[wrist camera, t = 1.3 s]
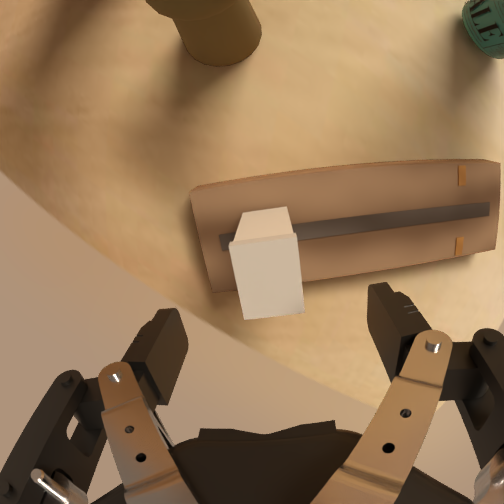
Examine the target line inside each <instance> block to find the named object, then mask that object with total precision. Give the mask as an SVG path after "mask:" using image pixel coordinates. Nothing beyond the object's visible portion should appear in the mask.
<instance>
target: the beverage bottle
mask: <svg viewBox="0 0 504 504" xmlns="http://www.w3.org/2000/svg"><path fill="white" fill-rule="evenodd" d="M465 3H466V2H465ZM462 18H463V22H464V25H465V28H466V30H467V32H468V34H469V35H470V37H471V38H472V40H473V41H474V43H475V44H476V45H477V46H478V47H479V48H480V49H481V50H482V51H483V52H484V53H485V54H487V55H489V56H490V57H493V58H496V59H503V58H504V0H470V1H468V2H467V3H466V4H465V5H464V7H463V10H462Z"/></svg>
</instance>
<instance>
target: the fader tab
mask: <svg viewBox="0 0 504 504" xmlns="http://www.w3.org/2000/svg"><path fill="white" fill-rule="evenodd" d="M229 251H230V255H231V260H232V265H233V270H234V275H235V279H236V284H237V289H238V293H239V298H240V302H241V307H242V312H243V316H244V320H248V319H258V318H267V317H275V316H284V315H292V314H300V313H305V309H304V299H303V288H302V278H301V269H300V260H299V251H298V242H297V235H296V233H293V229H292V225H291V221H290V217H289V213H288V209H287V206H286V207H279V208H272V209H265V210H258V211H251V212H244V213H243V214H242V217H241V220H240V223H239V226H238V229H237V232H236V235H235V238H234V241H233V242H230V244H229Z"/></svg>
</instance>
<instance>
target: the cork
mask: <svg viewBox="0 0 504 504" xmlns="http://www.w3.org/2000/svg"><path fill="white" fill-rule="evenodd" d="M146 2H147V3H148V4H149V5H150V6H151V7H152V8H153V9H154V10H156V11H157V12H158V13H159V14H161V15H164V16H167V17H169V18H172V19H173V21H174V23H175V25H176V27H177V29H178V32H179V34H180V36H181V38H182V40H183V42H184V44H185V47H186V49H187V51H188V53H189V54H190V55H191V56H192V57H193V58H194V59H195V60H197V61H199V62H201V63H203V64H206V65H211V66H228V65H232V64H234V63H237V62H240V61H242V60H244V59H245V58H246V57H248V56H249V55H251V54H252V53H253V51H254V50H255V49H256V47H257V46H258V45H259V42H260V39H261V36H262V32H261V24H260V22H259V20H258V18H257V16H256V14H255V12H254V10H253V8H252V6H251V4H250V2H249V0H146Z"/></svg>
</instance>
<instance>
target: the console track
mask: <svg viewBox="0 0 504 504" xmlns="http://www.w3.org/2000/svg"><path fill="white" fill-rule="evenodd" d="M189 195H190V200H191V204H192V209H193V213H194V218H195V222H196V226H197V231H198V235H199V239H200V244H201V248H202V252H203V256H204V260H205V264H206V268H207V272H208V276H209V280H210V284H211V288H212V292H213V293H216V292H225V291H234V290H238V289H237V284H236V279H235V275H234V270H233V265H232V260H231V255H230V251H229V244H230V242H233V241H234V238H235V235H236V232H237V229H238V226H239V223H240V220H241V217H242V214H243V213H244V212H251V211H258V210H265V209H272V208H279V207H286V206H287V209H288V213H289V217H290V221H291V225H292V229H293V233H296V235H297V242H298V251H299V260H300V269H301V278H302V282H306V281H313V280H321V279H328V278H335V277H341V276H348V275H355V274H361V273H368V272H374V271H380V270H386V269H393V268H399V267H404V266H410V265H416V264H422V263H427V262H433V261H438V260H444V259H449V258H454V257H460V256H465V255H470V254H475V253H480V252H485V251H490V250H494V249H495V246H496V239H497V230H498V220H499V206H500V163H497V162H493V161H489V160H484V159H443V160H412V161H393V162H378V163H364V164H352V165H342V166H332V167H322V168H313V169H305V170H297V171H289V172H281V173H274V174H267V175H261V176H254V177H248V178H241V179H235V180H229V181H224V182H218V183H212V184H207V185H202V186H197V187H196V188H194V189H193V190H191V191H190V192H189Z"/></svg>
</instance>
